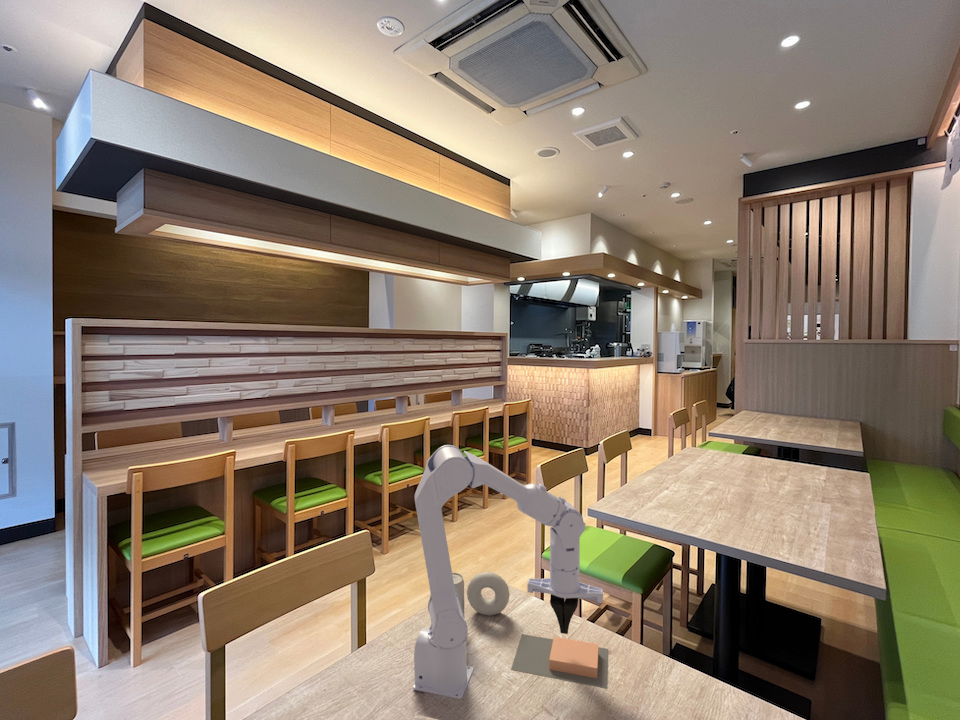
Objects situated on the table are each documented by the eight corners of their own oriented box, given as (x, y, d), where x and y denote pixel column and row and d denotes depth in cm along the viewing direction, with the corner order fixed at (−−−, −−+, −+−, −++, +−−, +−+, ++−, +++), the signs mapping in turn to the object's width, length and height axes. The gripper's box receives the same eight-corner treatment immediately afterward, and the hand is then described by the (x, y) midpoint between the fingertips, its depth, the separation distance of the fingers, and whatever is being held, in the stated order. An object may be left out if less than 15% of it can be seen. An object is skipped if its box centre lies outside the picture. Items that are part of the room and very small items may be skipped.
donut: (510, 611, 110) (510, 570, 110) (509, 620, 107) (508, 578, 106) (468, 608, 112) (467, 567, 111) (465, 617, 108) (465, 575, 108)
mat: (511, 671, 91) (511, 669, 91) (521, 635, 102) (521, 633, 102) (607, 690, 86) (607, 688, 86) (608, 650, 97) (608, 648, 97)
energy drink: (435, 630, 103) (434, 578, 103) (454, 620, 107) (453, 569, 106) (450, 642, 100) (449, 588, 99) (469, 631, 103) (469, 578, 102)
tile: (549, 659, 91) (597, 668, 88) (553, 636, 98) (598, 644, 95) (549, 669, 91) (597, 678, 88) (553, 645, 98) (598, 653, 95)
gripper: (603, 559, 94) (602, 624, 95) (531, 550, 98) (531, 612, 99) (602, 577, 87) (601, 646, 88) (525, 566, 91) (525, 633, 92)
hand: (564, 630), depth 93 cm, fingers closed
